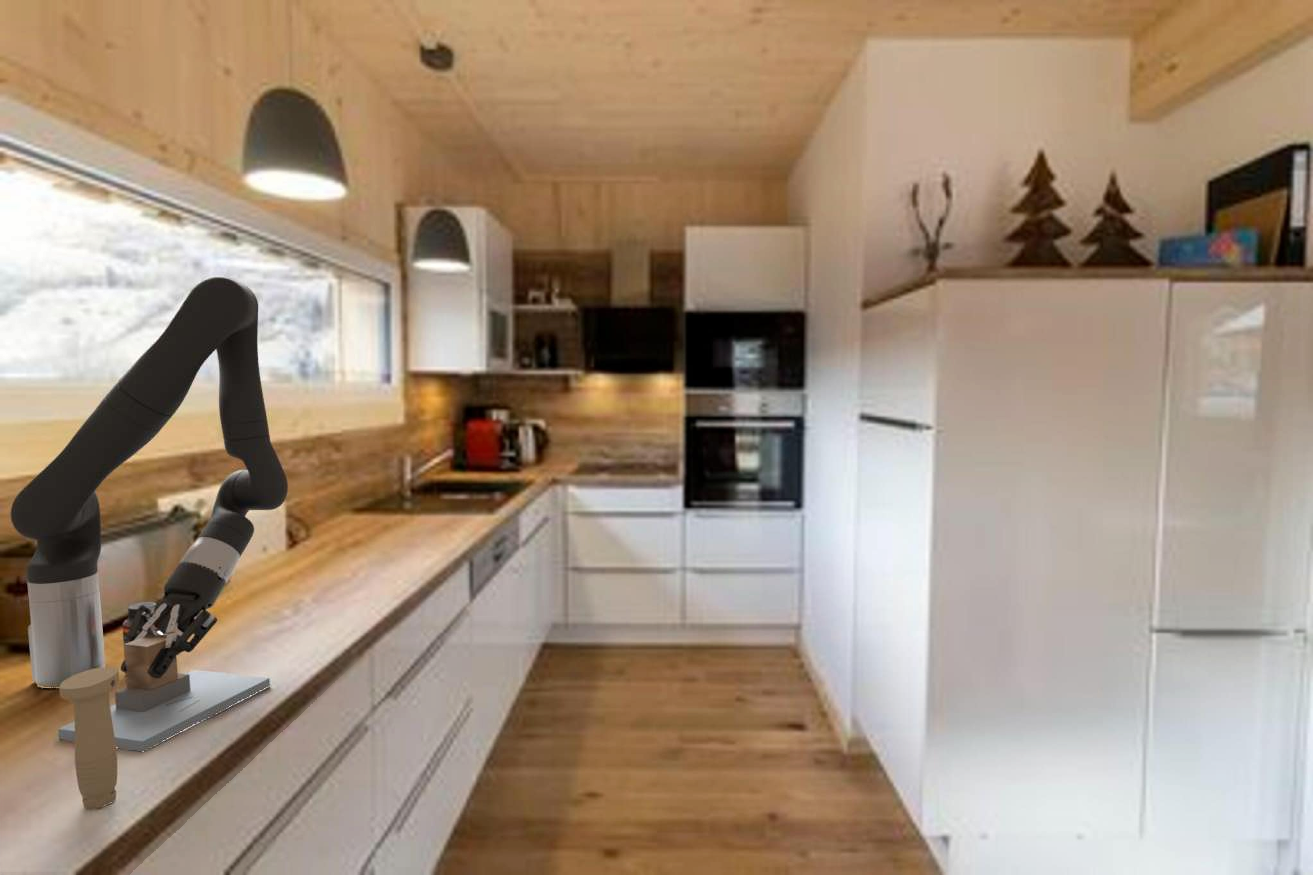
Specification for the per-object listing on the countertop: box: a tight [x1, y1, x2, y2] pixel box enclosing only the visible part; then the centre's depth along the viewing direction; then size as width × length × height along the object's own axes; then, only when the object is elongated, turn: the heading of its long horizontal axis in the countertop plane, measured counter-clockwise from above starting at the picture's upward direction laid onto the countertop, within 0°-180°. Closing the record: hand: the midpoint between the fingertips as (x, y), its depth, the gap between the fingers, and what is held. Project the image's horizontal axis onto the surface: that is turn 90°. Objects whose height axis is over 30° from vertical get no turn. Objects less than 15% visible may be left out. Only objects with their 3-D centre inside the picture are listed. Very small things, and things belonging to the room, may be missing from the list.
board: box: [57, 669, 271, 752], centre depth 115 cm, size 15×22×2 cm
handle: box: [58, 666, 120, 811], centre depth 89 cm, size 5×6×15 cm
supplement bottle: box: [122, 601, 160, 657], centre depth 131 cm, size 6×6×11 cm
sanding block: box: [114, 635, 190, 712], centre depth 115 cm, size 5×8×9 cm, turn 163°
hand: (140, 673), depth 114 cm, fingers closed on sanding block, 4 cm apart
